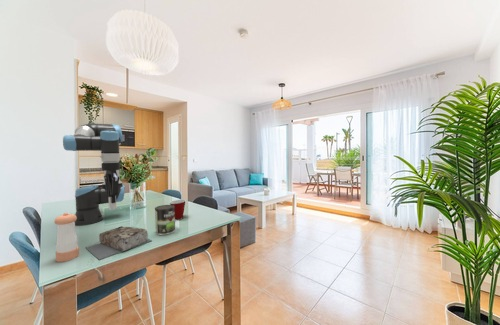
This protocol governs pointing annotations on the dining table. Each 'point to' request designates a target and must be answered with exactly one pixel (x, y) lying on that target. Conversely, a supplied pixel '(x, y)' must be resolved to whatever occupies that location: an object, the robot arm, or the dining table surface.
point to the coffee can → (165, 219)
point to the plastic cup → (178, 208)
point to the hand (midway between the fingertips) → (112, 209)
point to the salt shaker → (66, 238)
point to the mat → (106, 250)
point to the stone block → (123, 237)
